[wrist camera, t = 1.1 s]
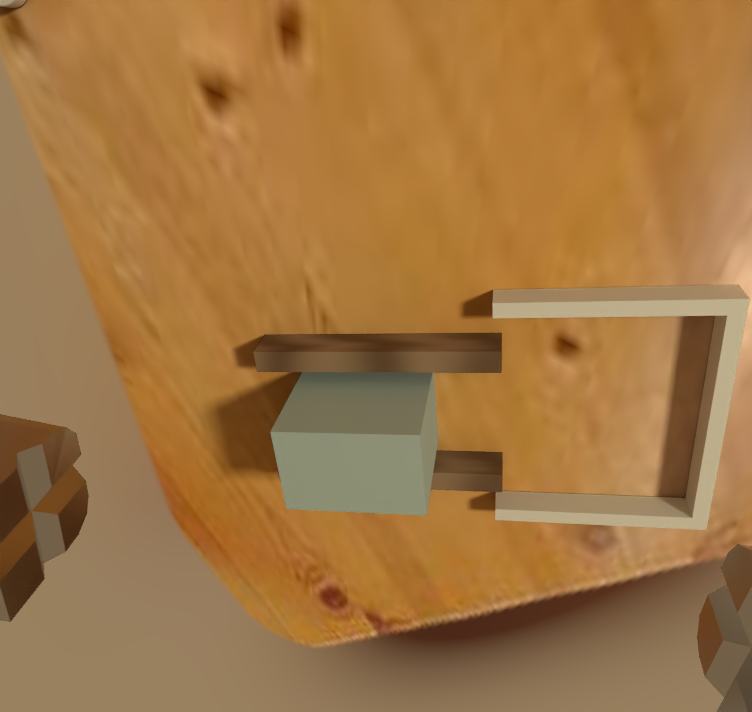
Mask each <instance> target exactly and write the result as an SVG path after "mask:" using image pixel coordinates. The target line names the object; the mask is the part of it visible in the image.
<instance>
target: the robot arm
mask: <svg viewBox="0 0 752 712" xmlns="http://www.w3.org/2000/svg"><path fill="white" fill-rule="evenodd" d="M25 2H26V0H0V7H9V8H16V7H20V6H22V5H23V4H24V3H25ZM80 455H81V451H80V447H79V444H78V439H77V434H76V433H75V432H73V431H71V430H70V429H68V428H66V427H61V426H56V425H51V424H46V423H41V422H36V421H31V420H25V419H21V418H16V417H11V416H6V415H0V620H2V621H8V622H10V621H12V619H13V618H14V617H15V615H16V614H17V613H18V612H19V610H20V609H21V608H22V607H23V605H24V604H25V603H26V602H27V600H28V599H29V598H30V596H31V595H32V594H33V593H34V591H35V590H36V589H37V588H38V586H39V585H40V584H41V583H42V581H43V580H44V563H45V562H47V561H49V560H51V559H53V558H54V557H56V556H58V555H60V554H62V553H64V552H66V551H67V549H68V548H69V547H70V545H71V544H72V543H73V541H74V540H75V539H76V537H77V536H78V535H79V532H80V530H81V527H82V525H83V522H84V520H85V517H86V514H87V508H88V490H87V484H86V480H85V479H84V478H83V477H82V476H81V475H80V474H79V473H78V471H77V470H76V469H75V468H74V467H73V464H74V463H75V462H76V460H77V459H78V458H79V456H80ZM721 569H722V572H723V575H724V578H725V580H726V583H727V584H726V585H725V586H723V587H721V588H719V589H717V590H715V591H714V592H712V593H710V594H708V596H707V598H706V601H705V603H704V606H703V608H702V610H701V613H700V616H699V626H698V636H697V640H698V649H699V657H700V661H701V664H702V668H703V671H704V675H705V677H706V678H707V679H708V680H709V682H710V683H711V684H712V685H713V686H714V687H715V688H716V689H717V690H718V691H719V692H720V693H721V694H722V696H723V697H724V699H723V701H722V703H721V705H720V707H719V708H718V710H717V712H752V546H747V545H741V544H737V545H736V546H735V547H734V548H733V549H732V550H731V551H729V552H728V554H727V556H726V558H725V560H724V562H723V565H722V566H721Z"/></svg>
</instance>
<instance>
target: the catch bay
mask: <svg viewBox="0 0 752 712" xmlns="http://www.w3.org/2000/svg"><path fill="white" fill-rule="evenodd" d="M749 301H750V298H749V297H748V296H747V295H746V293H745V292H744V291H743V289H742V288H741V287H740V286H739V285H705V286H656V287H607V288H559V289H510V290H493V303H492V305H493V318H563V317H646V316H715V320H714V326H713V332H712V338H711V344H710V350H709V356H708V363H707V369H706V375H705V381H704V387H703V393H702V399H701V405H700V411H699V418H698V424H697V430H696V436H695V442H694V448H693V454H692V460H691V466H690V473H689V479H688V485H687V491H686V497H685V498H672V497H646V496H621V495H595V494H569V493H544V492H518V491H502V492H496V500H495V520H509V521H530V522H551V523H572V524H593V525H614V526H635V527H656V528H677V529H698V530H706V529H707V523H708V518H709V513H710V507H711V502H712V497H713V491H714V486H715V481H716V476H717V470H718V465H719V460H720V454H721V449H722V444H723V438H724V433H725V428H726V423H727V417H728V412H729V407H730V401H731V396H732V391H733V385H734V380H735V375H736V370H737V364H738V359H739V354H740V348H741V343H742V338H743V332H744V327H745V322H746V317H747V311H748V306H749Z"/></svg>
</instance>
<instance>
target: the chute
mask: <svg viewBox="0 0 752 712" xmlns="http://www.w3.org/2000/svg"><path fill="white" fill-rule="evenodd" d="M253 354H254V359H255V363H256V368H257V372H422V373H501V368H502V333H427V334H299V335H265V336H264V337H263V339H262V340H261V342H260V343H259V344H258V346H257V347H256V349H255V350H254V352H253ZM277 468H278V467H277ZM278 473H279V471H278ZM279 478H280V476H279ZM280 482H281V481H280ZM431 489H434V490H459V491H484V492H502V452H467V451H436V457H435V464H434V470H433V477H432V483H431Z"/></svg>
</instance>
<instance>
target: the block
mask: <svg viewBox="0 0 752 712" xmlns="http://www.w3.org/2000/svg"><path fill="white" fill-rule="evenodd" d="M270 433H271V438H272V443H273V447H274V452H275V457H276V462H277V466H278V471H279V476H280V481H281V485H282V490H283V495H284V500H285V505H286V509H299V510H320V511H341V512H362V513H383V514H404V515H425V516H426V515H427V509H428V503H429V496H430V490H431V483H432V477H433V470H434V464H435V457H436V451H437V444H438V426H437V410H436V394H435V378H434V373H422V372H302V374H301V375H300V377H299V379H298V381H297V383H296V385H295V387H294V388H293V390H292V392H291V394H290V396H289V398H288V400H287V402H286V403H285V405H284V407H283V409H282V411H281V413H280V415H279V416H278V418H277V420H276V422H275V424H274V426H273V428H272V430H271V431H270Z"/></svg>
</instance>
